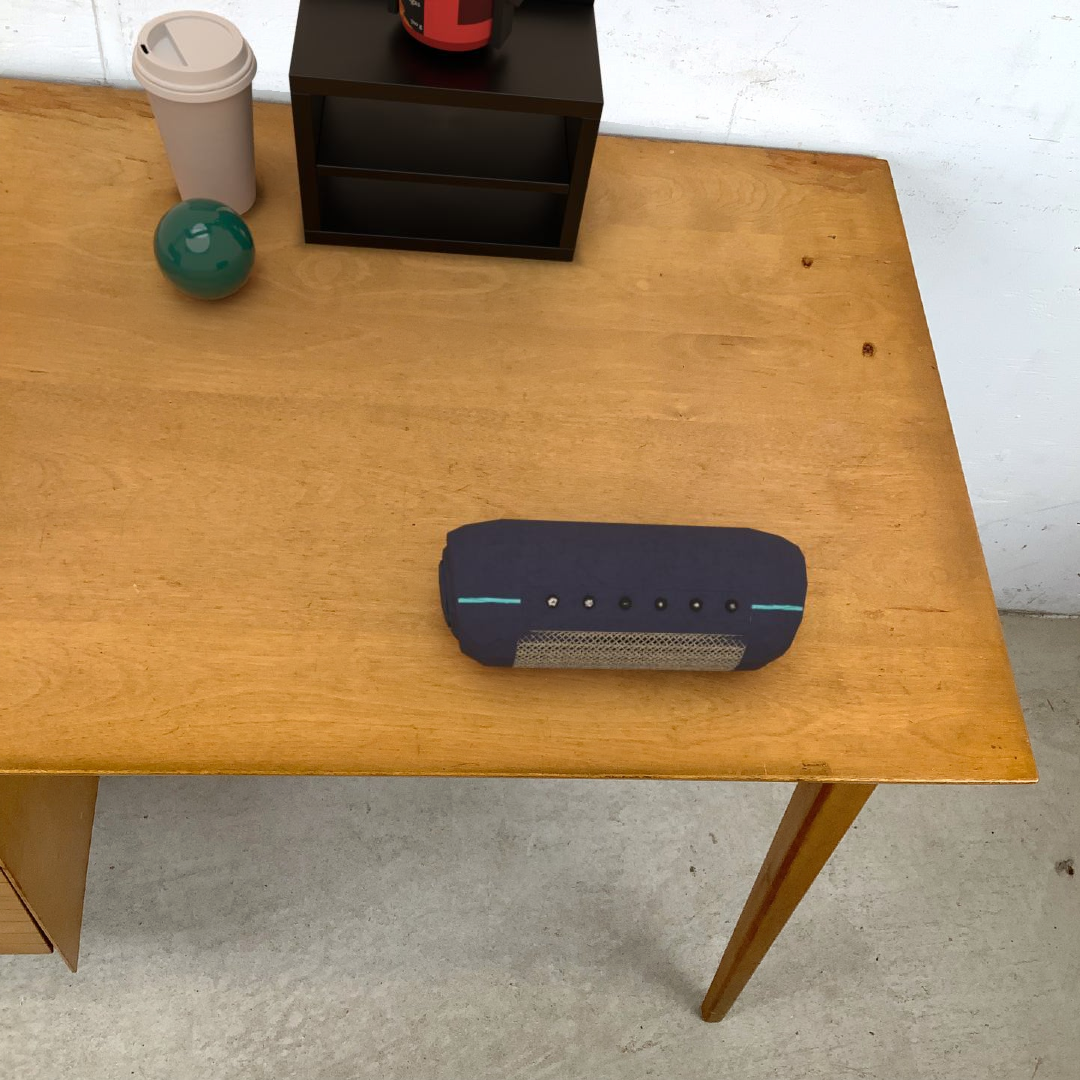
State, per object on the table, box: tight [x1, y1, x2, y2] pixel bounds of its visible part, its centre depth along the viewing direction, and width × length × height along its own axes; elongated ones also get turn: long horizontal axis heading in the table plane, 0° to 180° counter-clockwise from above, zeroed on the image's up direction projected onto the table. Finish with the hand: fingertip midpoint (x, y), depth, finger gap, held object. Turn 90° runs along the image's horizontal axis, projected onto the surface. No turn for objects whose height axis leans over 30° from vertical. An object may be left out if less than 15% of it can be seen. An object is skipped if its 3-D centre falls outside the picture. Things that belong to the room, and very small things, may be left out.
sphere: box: [152, 198, 257, 301], centre depth 82 cm, size 8×8×8 cm
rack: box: [288, 0, 605, 263], centre depth 87 cm, size 14×24×18 cm, turn 92°
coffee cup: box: [131, 9, 258, 216], centre depth 85 cm, size 10×10×15 cm
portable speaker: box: [438, 518, 809, 672], centre depth 69 cm, size 25×10×10 cm, turn 92°
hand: (449, 21), depth 80 cm, fingers closed on canned food, 8 cm apart
